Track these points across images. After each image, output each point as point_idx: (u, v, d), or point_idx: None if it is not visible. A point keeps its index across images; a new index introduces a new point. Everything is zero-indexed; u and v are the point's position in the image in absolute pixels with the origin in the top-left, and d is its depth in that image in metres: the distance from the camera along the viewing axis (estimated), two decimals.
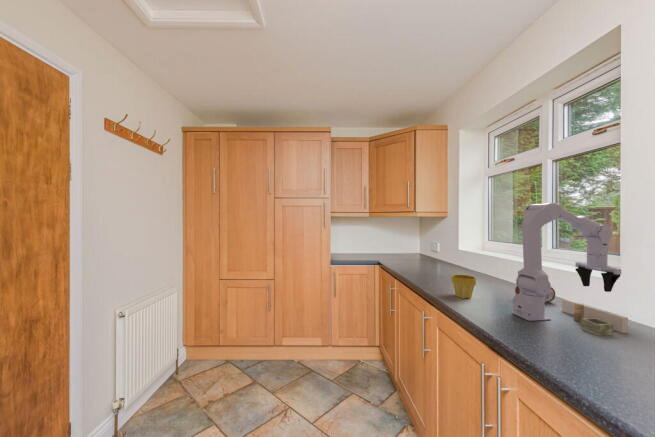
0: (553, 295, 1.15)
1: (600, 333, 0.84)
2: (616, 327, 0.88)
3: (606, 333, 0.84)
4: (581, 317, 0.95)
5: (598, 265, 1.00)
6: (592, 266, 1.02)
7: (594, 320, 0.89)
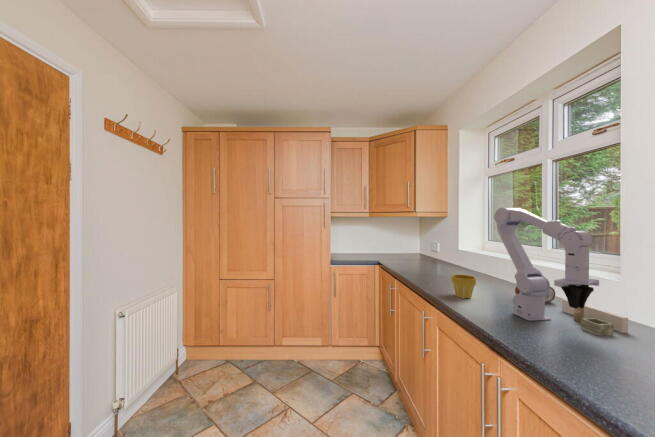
0: (553, 295, 1.15)
1: (600, 333, 0.84)
2: (616, 327, 0.88)
3: (606, 333, 0.84)
4: (581, 317, 0.95)
5: (565, 277, 0.88)
6: None
7: (594, 320, 0.89)
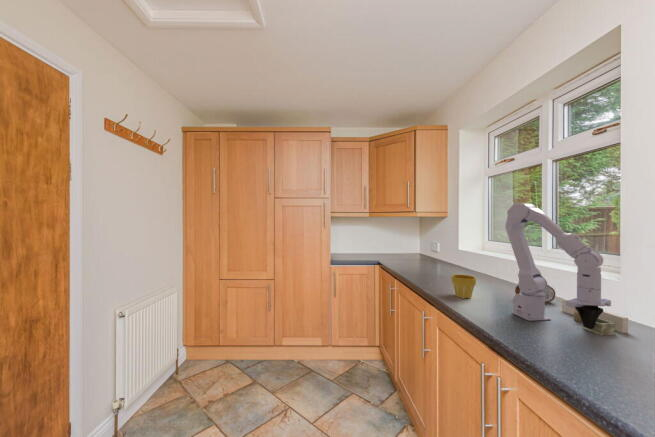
0: (553, 295, 1.15)
1: (602, 332, 0.84)
2: (616, 327, 0.88)
3: (608, 332, 0.85)
4: None
5: None
6: None
7: None
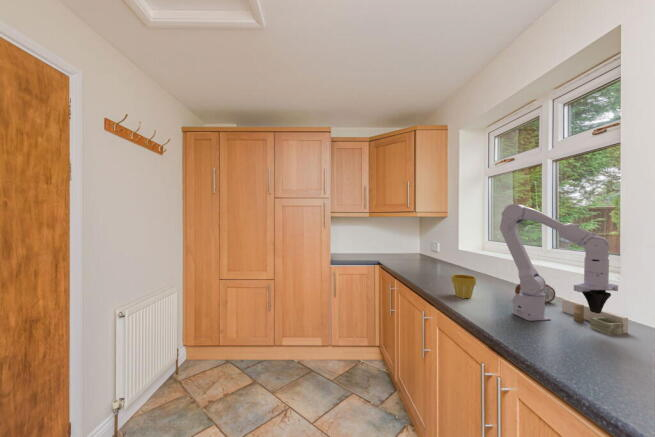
0: (553, 295, 1.15)
1: (610, 332, 0.85)
2: None
3: (616, 332, 0.85)
4: (581, 317, 0.95)
5: (584, 282, 0.89)
6: None
7: (604, 319, 0.90)
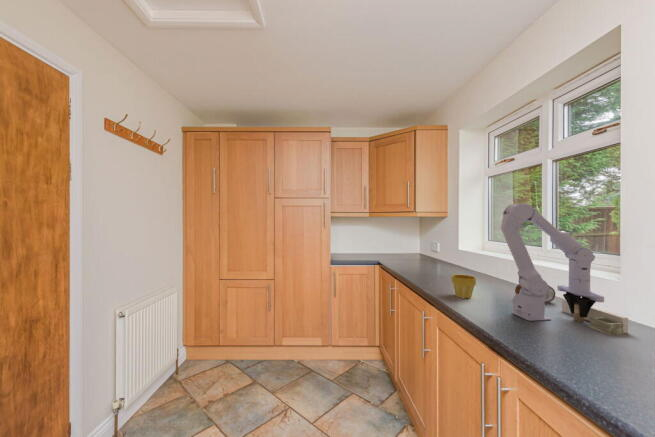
0: (553, 295, 1.15)
1: (610, 332, 0.85)
2: None
3: (616, 332, 0.85)
4: (581, 317, 0.95)
5: (580, 291, 0.94)
6: (574, 291, 0.95)
7: (604, 319, 0.90)
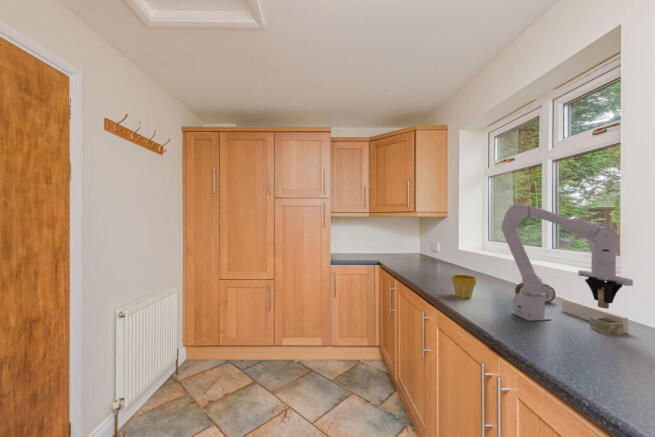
0: (553, 295, 1.15)
1: (610, 332, 0.85)
2: None
3: (616, 332, 0.85)
4: (606, 303, 0.88)
5: (605, 274, 0.87)
6: (598, 275, 0.88)
7: (603, 319, 0.90)
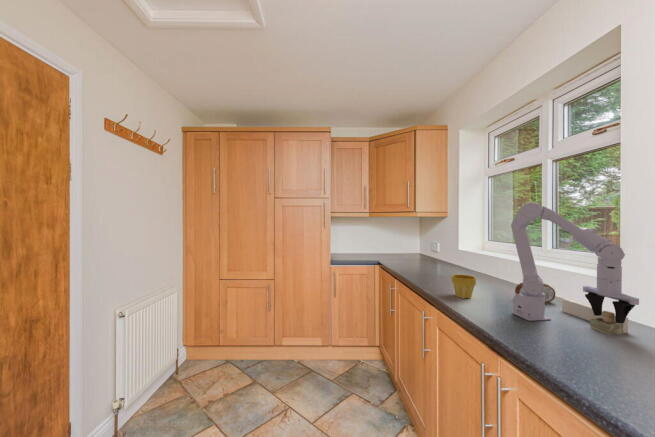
0: (553, 295, 1.15)
1: (610, 332, 0.85)
2: None
3: (616, 332, 0.85)
4: None
5: (611, 292, 0.85)
6: (603, 293, 0.86)
7: None
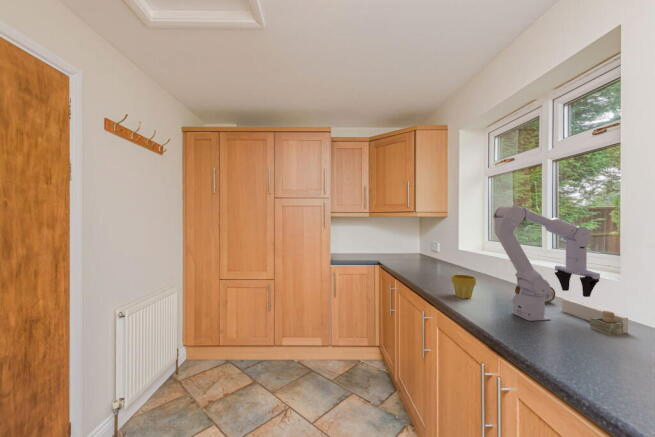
0: (553, 295, 1.15)
1: (610, 332, 0.85)
2: None
3: (616, 332, 0.85)
4: None
5: (577, 269, 0.96)
6: (570, 270, 0.97)
7: None
